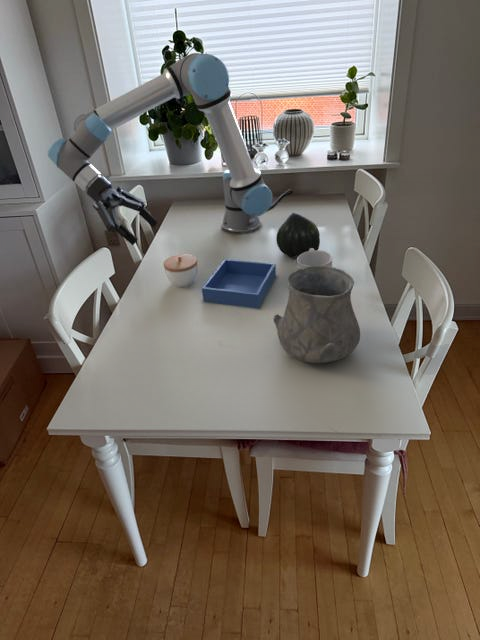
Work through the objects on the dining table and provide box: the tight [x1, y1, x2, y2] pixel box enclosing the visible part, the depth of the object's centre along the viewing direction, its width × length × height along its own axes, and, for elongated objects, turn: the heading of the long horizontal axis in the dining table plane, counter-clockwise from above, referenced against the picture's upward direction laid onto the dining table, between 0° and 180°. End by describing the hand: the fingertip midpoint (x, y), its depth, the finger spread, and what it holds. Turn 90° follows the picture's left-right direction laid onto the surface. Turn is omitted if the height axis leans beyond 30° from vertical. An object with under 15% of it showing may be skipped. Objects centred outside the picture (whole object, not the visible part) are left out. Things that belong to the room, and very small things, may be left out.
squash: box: [275, 212, 321, 259], centre depth 157 cm, size 14×15×15 cm
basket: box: [201, 258, 277, 310], centre depth 141 cm, size 20×18×5 cm
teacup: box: [296, 248, 333, 270], centre depth 143 cm, size 14×11×8 cm
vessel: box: [273, 266, 361, 364], centre depth 110 cm, size 22×22×20 cm
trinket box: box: [163, 253, 198, 288], centre depth 146 cm, size 11×11×9 cm
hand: (146, 233), depth 143 cm, fingers open, 13 cm apart
